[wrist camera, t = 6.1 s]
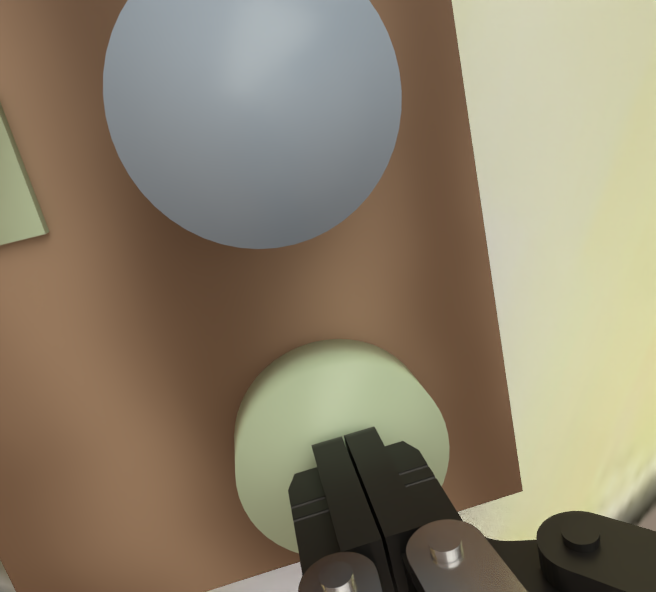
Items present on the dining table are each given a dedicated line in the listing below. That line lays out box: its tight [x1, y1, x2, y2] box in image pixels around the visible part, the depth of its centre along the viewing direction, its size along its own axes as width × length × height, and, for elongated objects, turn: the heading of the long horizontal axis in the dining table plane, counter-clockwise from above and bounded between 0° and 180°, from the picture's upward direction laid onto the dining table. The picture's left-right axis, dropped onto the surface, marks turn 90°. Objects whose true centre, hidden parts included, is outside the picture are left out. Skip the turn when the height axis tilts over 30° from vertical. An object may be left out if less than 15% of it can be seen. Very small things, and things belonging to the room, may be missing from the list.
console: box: [0, 0, 523, 592], centre depth 14 cm, size 14×24×3 cm, turn 13°
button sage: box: [234, 339, 449, 553], centre depth 14 cm, size 5×5×2 cm
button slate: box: [103, 0, 402, 249], centre depth 10 cm, size 5×5×2 cm
